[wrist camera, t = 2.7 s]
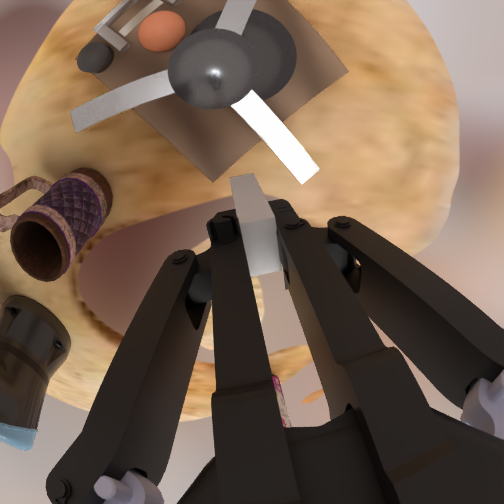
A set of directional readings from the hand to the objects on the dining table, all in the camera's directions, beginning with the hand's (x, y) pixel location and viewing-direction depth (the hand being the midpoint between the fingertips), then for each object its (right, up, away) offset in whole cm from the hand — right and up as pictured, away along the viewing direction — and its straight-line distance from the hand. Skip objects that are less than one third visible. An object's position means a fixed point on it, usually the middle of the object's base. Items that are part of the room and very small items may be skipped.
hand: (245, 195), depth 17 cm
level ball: (-7, +16, 0) cm, 17 cm away
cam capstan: (-2, +11, +4) cm, 11 cm away
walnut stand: (-3, +15, +3) cm, 16 cm away
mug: (-19, +4, +8) cm, 21 cm away
